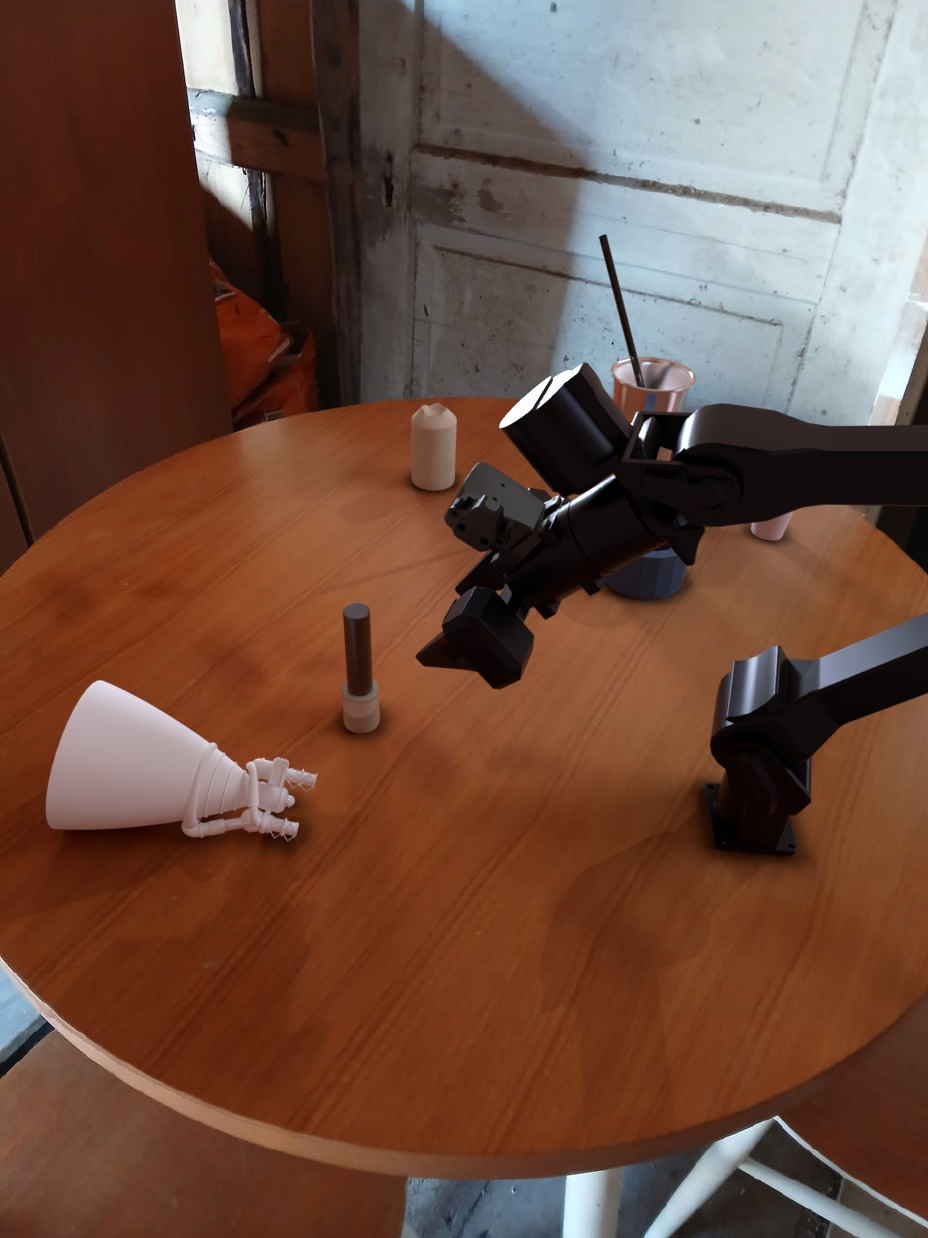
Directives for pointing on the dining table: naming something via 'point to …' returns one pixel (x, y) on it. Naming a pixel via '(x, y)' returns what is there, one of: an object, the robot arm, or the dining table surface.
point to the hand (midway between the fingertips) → (440, 624)
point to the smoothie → (771, 527)
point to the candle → (433, 447)
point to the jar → (649, 575)
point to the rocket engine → (157, 773)
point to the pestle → (359, 672)
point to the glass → (644, 369)
